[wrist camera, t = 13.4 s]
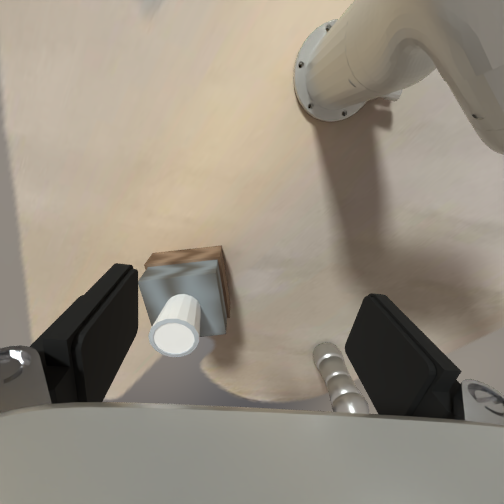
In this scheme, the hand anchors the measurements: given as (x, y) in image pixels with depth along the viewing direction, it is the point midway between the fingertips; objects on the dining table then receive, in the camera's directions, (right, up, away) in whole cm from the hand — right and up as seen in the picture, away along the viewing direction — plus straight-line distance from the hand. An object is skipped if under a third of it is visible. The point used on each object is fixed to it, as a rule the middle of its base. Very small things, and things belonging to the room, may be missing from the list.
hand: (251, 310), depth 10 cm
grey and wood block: (-12, -3, +40) cm, 42 cm away
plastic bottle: (+17, -21, +50) cm, 57 cm away
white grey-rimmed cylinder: (-11, -7, +31) cm, 34 cm away
